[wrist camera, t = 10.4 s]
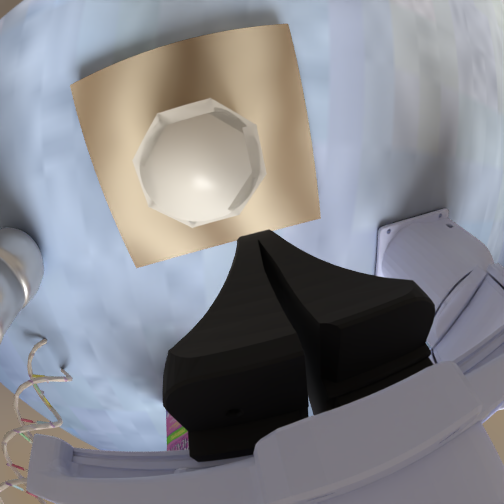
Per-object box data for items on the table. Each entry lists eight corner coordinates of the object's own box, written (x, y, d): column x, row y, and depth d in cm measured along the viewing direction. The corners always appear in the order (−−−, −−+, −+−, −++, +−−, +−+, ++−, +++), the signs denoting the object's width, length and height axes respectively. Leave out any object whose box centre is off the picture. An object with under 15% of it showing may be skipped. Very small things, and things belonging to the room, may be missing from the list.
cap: (234, 94, 14) (249, 89, 10) (252, 175, 17) (273, 206, 13) (146, 119, 14) (121, 126, 10) (170, 198, 17) (160, 237, 12)
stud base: (281, 29, 14) (311, 5, 9) (313, 210, 21) (344, 244, 16) (79, 85, 13) (38, 84, 8) (139, 257, 20) (126, 303, 16)
